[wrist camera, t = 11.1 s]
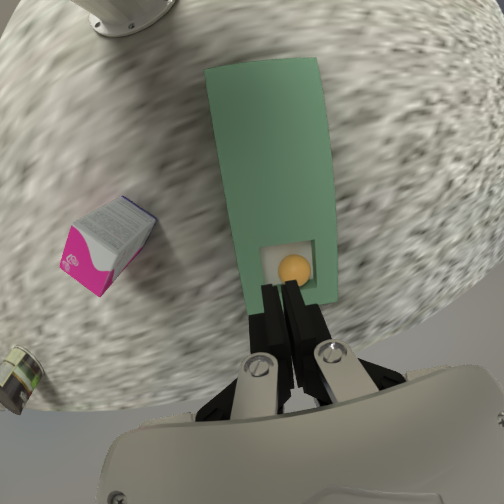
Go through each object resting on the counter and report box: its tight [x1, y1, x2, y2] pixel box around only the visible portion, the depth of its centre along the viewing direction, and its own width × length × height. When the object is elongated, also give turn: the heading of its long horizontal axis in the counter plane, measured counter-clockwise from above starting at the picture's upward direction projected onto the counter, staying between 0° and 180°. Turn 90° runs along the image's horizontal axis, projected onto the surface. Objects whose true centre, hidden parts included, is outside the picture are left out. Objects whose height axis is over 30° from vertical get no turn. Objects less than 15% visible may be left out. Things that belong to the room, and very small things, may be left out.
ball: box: [278, 254, 311, 286], centre depth 33 cm, size 4×4×4 cm
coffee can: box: [0, 345, 44, 415], centre depth 37 cm, size 10×10×14 cm
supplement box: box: [60, 196, 157, 297], centre depth 27 cm, size 6×6×12 cm
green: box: [204, 58, 338, 316], centre depth 30 cm, size 30×12×2 cm, turn 9°
